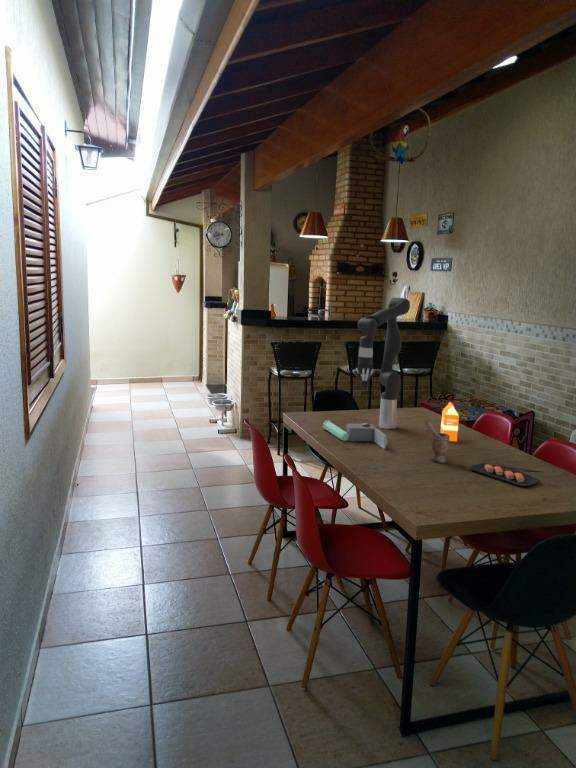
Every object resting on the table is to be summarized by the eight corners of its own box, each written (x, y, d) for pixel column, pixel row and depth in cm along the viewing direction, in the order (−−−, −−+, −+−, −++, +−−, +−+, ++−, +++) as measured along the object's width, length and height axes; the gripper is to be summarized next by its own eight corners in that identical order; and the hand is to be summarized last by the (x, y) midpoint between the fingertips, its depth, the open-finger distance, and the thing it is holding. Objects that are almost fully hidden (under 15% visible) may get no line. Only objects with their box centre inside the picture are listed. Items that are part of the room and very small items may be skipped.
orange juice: (453, 437, 320) (457, 402, 316) (456, 441, 311) (460, 405, 308) (439, 436, 321) (442, 401, 317) (442, 440, 312) (445, 404, 308)
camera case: (370, 436, 315) (371, 422, 314) (374, 441, 305) (375, 426, 304) (345, 435, 314) (346, 421, 312) (349, 441, 304) (350, 426, 302)
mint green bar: (349, 430, 302) (330, 418, 325) (339, 435, 301) (321, 422, 324) (352, 440, 304) (333, 427, 327) (342, 444, 303) (324, 431, 326)
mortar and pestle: (426, 463, 271) (429, 422, 267) (420, 457, 279) (423, 418, 276) (449, 463, 272) (453, 422, 268) (443, 458, 280) (447, 418, 277)
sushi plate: (465, 471, 264) (466, 463, 263) (502, 460, 282) (503, 453, 281) (524, 490, 241) (525, 482, 240) (560, 477, 259) (561, 469, 258)
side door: (373, 441, 305) (374, 427, 304) (376, 440, 305) (377, 427, 304) (383, 448, 291) (384, 435, 290) (386, 448, 291) (387, 435, 290)
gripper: (375, 355, 313) (373, 386, 316) (352, 354, 311) (350, 385, 315) (379, 356, 306) (377, 388, 309) (355, 356, 304) (353, 388, 307)
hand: (363, 387), depth 312 cm, fingers closed
